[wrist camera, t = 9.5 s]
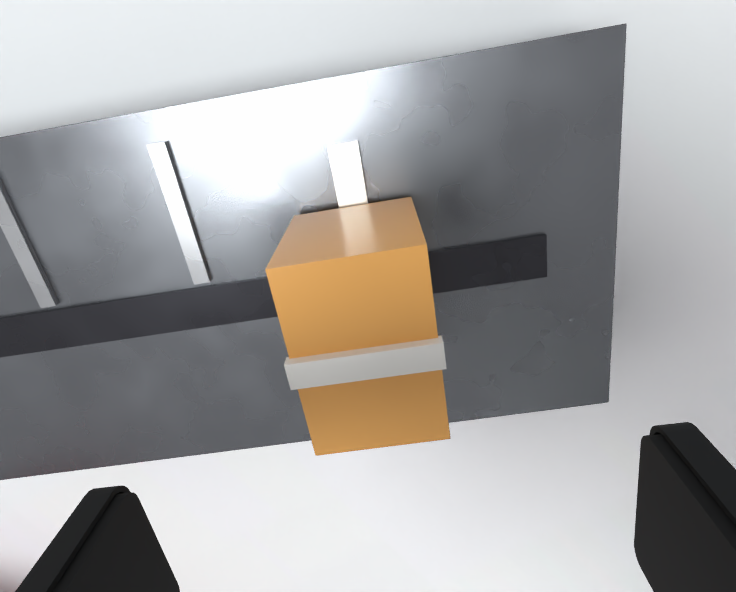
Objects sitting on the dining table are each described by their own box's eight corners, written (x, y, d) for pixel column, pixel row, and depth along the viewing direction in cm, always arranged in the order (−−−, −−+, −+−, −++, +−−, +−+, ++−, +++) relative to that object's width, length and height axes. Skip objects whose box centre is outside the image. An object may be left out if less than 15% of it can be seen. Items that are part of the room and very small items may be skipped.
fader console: (575, 33, 18) (631, 22, 14) (572, 352, 24) (611, 406, 20) (-155, 166, 20) (-280, 188, 16) (2, 429, 26) (-63, 492, 22)
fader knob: (414, 196, 16) (432, 247, 11) (433, 349, 19) (455, 445, 14) (291, 215, 17) (258, 274, 12) (326, 364, 19) (310, 463, 14)
